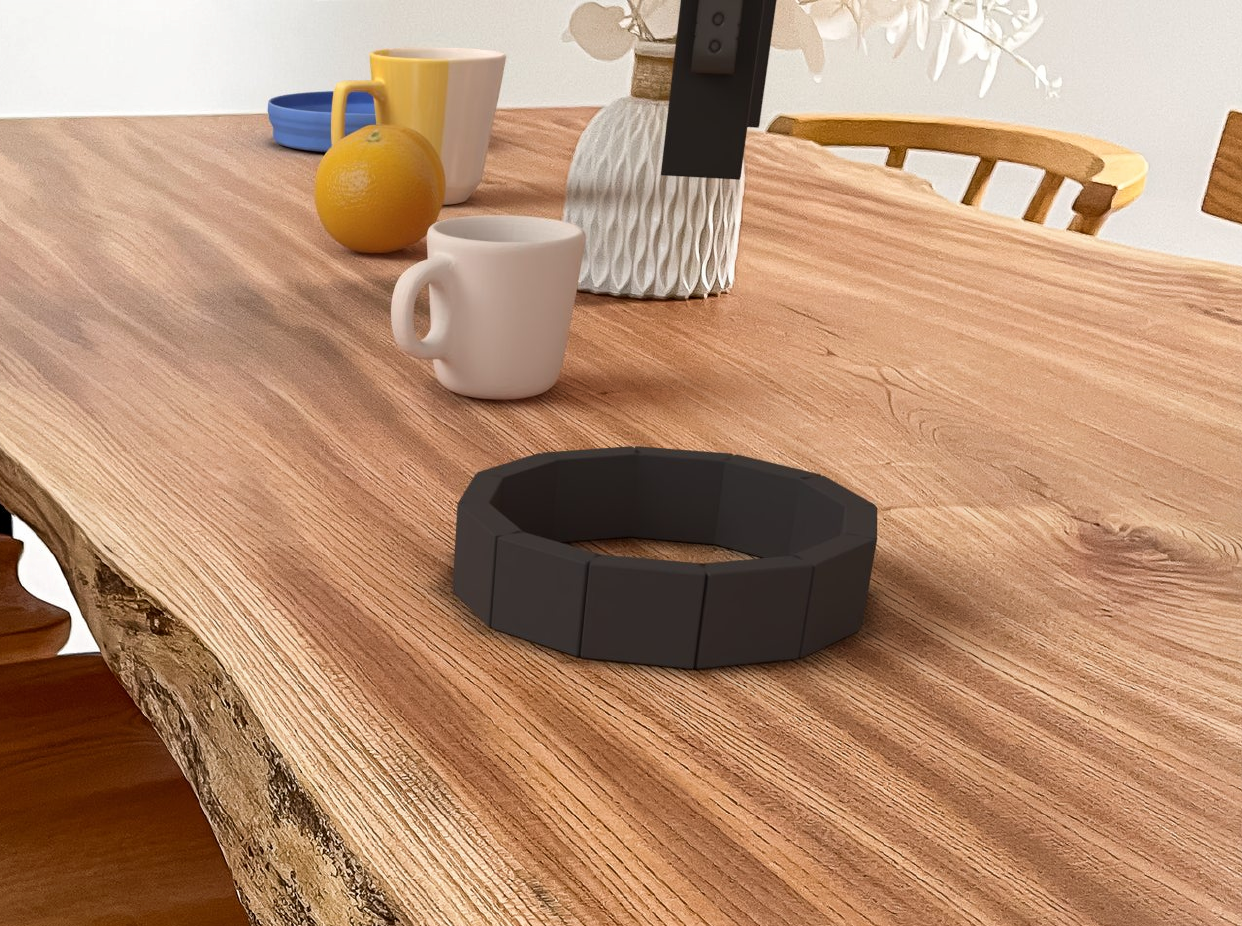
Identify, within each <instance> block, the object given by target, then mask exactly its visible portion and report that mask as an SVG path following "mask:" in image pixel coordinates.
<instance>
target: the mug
mask: <svg viewBox="0 0 1242 926" xmlns="http://www.w3.org/2000/svg"><path fill="white" fill-rule="evenodd" d="M368 57H369V68H370V79H371V80H365V79H363V80H362V79H361V80H360V79H359V80H358V79H357V80H342V81H339V82H338V83H336V84H335V86H334V89H333V91H334V93H333V101H332V114H331V143H332V146H333V145H334V144H336V143H337V142H338V141H340V140H341V139H342V138H344V137H345V109H346V102H347V97H348V94H349V93H350V92H354V91H364V92H367V93H369V94H370V95H372V96H373V98H374V106H375V115H376V125H379V124H381V125H395V126H402V127H407V128H410V129H413V130H415V131H417V132H418V133H420V134H422V135H423V136H424V137H425V138H426V139H427V140H428V141H429V142H430V143H431V145H432V146H433V147H434V149H435V150H436V152H437V154H438V156H439V158H440V160H441V162H442V165H443V169H444V173H445V182H446V189H445V197H444V201H443V205H442V206H451V205H457V204H462V203H464V202H466V201H467V200H468V199H469V198H470V197H471V196H472V194H473V193H474V192H475V190H477V188H478V187H479V186H480V184H481V183H482V180H483V177H484V172H485V168H486V167H485V166H486V160H487V157H488V151H489V146H490V141H491V137H492V131H493V126H494V120H495V117H496V111H497V108H498V107H497V106H498V103H499V97H500V92H501V87H502V82H503V77H504V72H505V67H506V66H505V65H506V60H507V55H506V53H504V52H501V51H498V50H493V49H492V50H491V49H484V48H483V49H482V48H469V47H448V46H447V47H445V46H444V47H443V46H408V47H407V46H406V47H405V46H404V47H391V48H386V49H385V48H382V49H377V50H373V51H371V52H369V56H368Z"/></svg>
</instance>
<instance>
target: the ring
mask: <svg viewBox="0 0 1242 926" xmlns="http://www.w3.org/2000/svg"><path fill="white" fill-rule="evenodd" d="M456 504H457V507H456V523H455V537H454V538H455V539H454V554H453V569H452V570H453V571H452V587H451V588H452V593H453V594H454V595H456V597H457V598H458V599H459V600H461V602H462V603H463V604H465V606H466V607H468V609H469V610H471V611H472V612H473V614H475V615H476V616H477V617H478V619H480V620H481V621H482V622H483V624H484V625H486V626H487V627H488V628H491V629H493V630H496V631H498V632H501V633H504V634H508V635H511V636H514V637H516V638H519V639H523V640H526V641H528V642H530V643H531V642H532V643H535V644H537V645H541V646H543V647H547V648H550V649H553V650H556V651H559V652H562V653H565V654H568V655H571V656H574V657H579V656H580V658H582V659H593V660H600V661H601V660H602V661H610V662H611V661H612V662H622V663H630V664H639V665H650V666H659V667H667V668H677V669H678V668H679V669H689V670H692V669H694V668H696V669H699V670H700V669H709V668H719V667H720V668H721V667H730V666H739V665H749V664H758V663H759V664H761V663H771V662H781V661H791V660H798V659H799V658H802V659H803V658H805V657H807V656H809V655H811V654H814V653H815V652H817V651H819V650H822V649H825V648H826V647H828V646H830V645H833V644H835V643H837V642H839V641H841V640H843V639H846V638H847V637H850V636H851V635H853V634H856V633H858V632H859V631H860V630H861V629H862V628H863V623H864V618H865V617H864V616H865V611H866V605H867V599H868V595H869V588H870V583H871V577H872V572H873V565H874V560H875V556H876V548H877V543H878V506H877V505H876V504H875V503H873V502H871V501H869V500H867V499H866V498H864V497H863V496H861V495H858V494H857V493H855V492H854V491H852V490H851V489H849V488H846V487H845V486H843V485H841V484H840V483H838V482H836V481H834V480H833V479H831V478H829V477H827V476H826V475H822V474H821V473H817V472H814V471H813V472H812V471H808V470H803V469H801V468H795V467H793V466H787V465H782V464H779V463H775V462H770V461H766V460H762V459H758V458H754V457H751V456H750V457H749V456H745V455H742V454H733V453H731V452H719V451H718V452H717V451H703V450H692V449H691V450H690V449H680V448H679V449H678V448H665V447H654V446H653V447H652V446H641V445H640V446H639V445H635V446H632V445H629V446H613V447H600V448H587V449H586V448H585V449H571V450H559V451H544V452H537V453H536V454H532V455H531V454H530V455H528V456H525V457H522V458H518V459H515V460H511V461H509V462H505V463H502V464H499V465H496V466H493V467H489V468H486V469H483V470H480V471H477V472H476V473H475V474H474V475H473V478H472V479H471V480H470V482H469V484H468V486H467V487H466V489H465V491H464V492H463V493H462V495H461V497H460V498H459V500H458V502H457V503H456ZM620 538H636V539H637V538H638V539H648V540H659V541H669V542H681V543H682V542H683V543H694V544H704V545H716V546H719V547H723V548H726V549H730V550H733V551H736V552H737V551H738V552H740V553H744V554H748V555H752V556H755V557H759V558H750V559H738V560H727V561H713V562H704V563H703V562H691V561H681V560H680V561H679V560H672V559H671V560H669V559H658V558H647V557H638V556H637V557H636V556H628V555H627V556H625V555H616V554H615V555H614V554H603V553H599V552H594V551H591V550H587V549H584V548H580V547H578V546H574V545H570V544H568V543H571V542H584V541H585V542H586V541H593V540H594V541H595V540H596V541H597V540H606V539H607V540H608V539H620ZM566 543H567V544H566Z"/></svg>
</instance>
